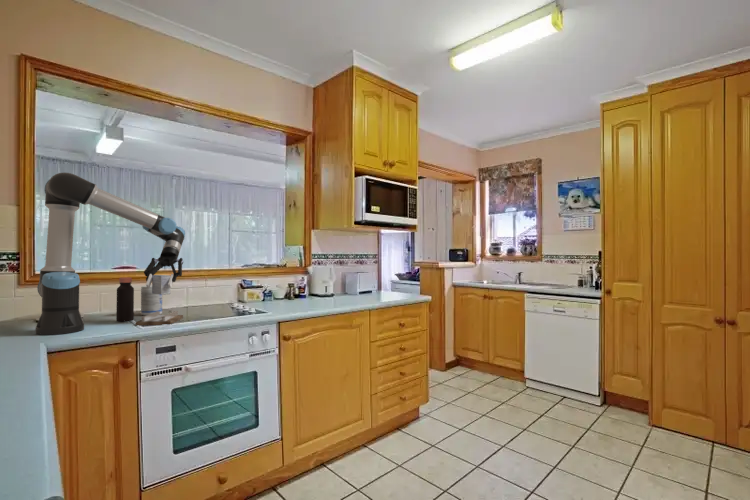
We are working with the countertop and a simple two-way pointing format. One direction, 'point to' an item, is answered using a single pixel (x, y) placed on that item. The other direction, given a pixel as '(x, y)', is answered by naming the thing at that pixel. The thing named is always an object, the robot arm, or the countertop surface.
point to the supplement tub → (150, 301)
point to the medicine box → (160, 284)
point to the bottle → (125, 300)
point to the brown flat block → (159, 318)
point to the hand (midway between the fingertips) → (158, 286)
